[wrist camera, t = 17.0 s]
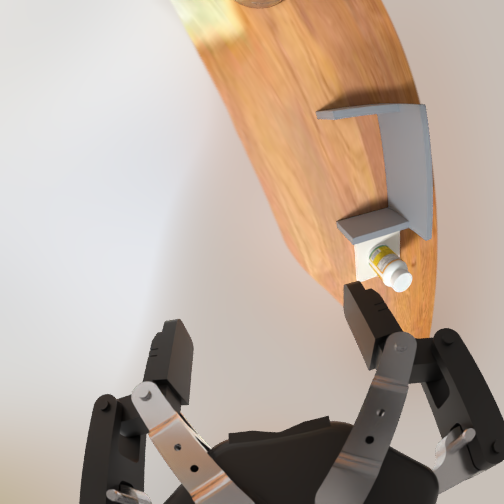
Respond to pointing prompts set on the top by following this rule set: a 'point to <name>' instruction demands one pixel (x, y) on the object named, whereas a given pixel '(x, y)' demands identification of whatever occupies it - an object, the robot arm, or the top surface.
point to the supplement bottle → (389, 267)
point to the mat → (364, 249)
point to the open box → (396, 172)
